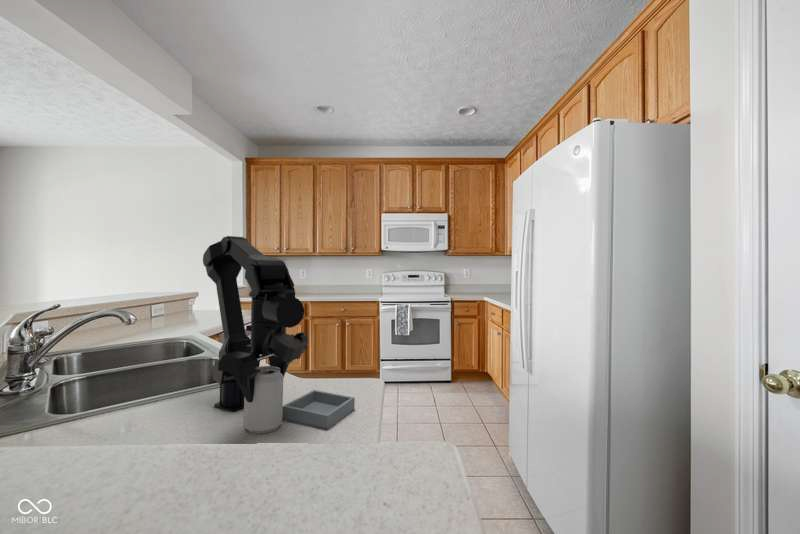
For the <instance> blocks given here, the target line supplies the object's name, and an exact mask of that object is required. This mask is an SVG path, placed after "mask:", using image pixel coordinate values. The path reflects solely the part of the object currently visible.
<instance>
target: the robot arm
mask: <svg viewBox="0 0 800 534" xmlns="http://www.w3.org/2000/svg"><path fill="white" fill-rule="evenodd" d="M202 263H203V266H204V267H205V270H206V274H207V276H208V278H209V279H210V280H211V281H212V282H214V284H215V286H216V293H217V299H218V306H219V311H220V312H219V313H220V319H221V326H222V333H223V340H224V341H223V342H222V345H221V347H220V349H219V351H218V359H217V361H216V362H215V365H214V367H213V369H212V379H213V381H214V382H216V384H219V402H216V403H214V404H213V407H214V408H218V409H222V410H227V411H230V412H236V411H238V410H240V409H244V396H245V398H246V400H247V402H250V403H251V402H253V396H254V385H255V376H256V375H257V374H258V373H259V372H260V370H259V369H255V368H256V367H260V363H261V361H262V360H265V359H268V360H269V366H275V367H278V368H280V373H281V374H282V375H283V379H284V378H285V375H286V373H287V370H288V367H289V365H290V364H291V363H292V362H293V361H295V360H299V359H300V358H301V357H302V355H303V354H304V352H305V351H306V350H308V347H309V346H308V334H307V333H306V332H303V331H301V332H298V333H296V334H295V335H294V334H288V333H287V330H286V329H287V328H294V327H297V325H299V324H300V323H301V321H302V320H303V318H304V317H305V316H304V315H305V307H304V304H303V302H302V300H300V299H299V298H297V297H296V290H295V282H294V281H293V279H292V277H291V275H290V271H289V269H288V266H287V265H286V263H285V262H284V260H282V259H279V258H277V257H274V256H273V257H272V256H268V255H265V254H263V253H262V252H260V250H258V249H257V248H256V247H254V246H253V245H252V244H251V243H250V242H249V241H248V239H247V238H245V237H243V236H234V235H233V236H232V235H227V236H223V237H222V239H221V240H220V241H217V242H215V243H212V244H211V245H208V247H207V248H206V249H205V251H204V253H203V256H202ZM242 268H243V269H244V270H245V273H244V279H245V280H246V281H247V283H248V285H249V288H250V289H251V291H249V293H248V296H249V297H250V298H251V305H250V306H251V310H250V311H251V313H250V324H247V325H246V327H245V321H244V316H243V310H242V304H241V298H240V292H239V286H238V279H237V278H238V277H239V274H240V273H241V270H242ZM248 331H249V332H250V337H249V336H248V335H247V333H246V332H248Z"/></svg>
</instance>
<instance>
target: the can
mask: <svg viewBox="0 0 800 534" xmlns="http://www.w3.org/2000/svg"><path fill="white" fill-rule="evenodd" d="M255 369H259V370H260V372H259V373H258V374H257V375H256V376H255V385H254V396H253V402H251V403H250V402H247V400H246V398H245V396H244V407H243V427H244V428H245V429H246V430H247V431H248V432H250V433H252V434H260V435H261V434H266V433H270V432H273V431H275V430H277V428H278V427H279V426H280V425H281V424H282V423H283V420H282V411H283V406H284V398H283V397H284V378H283V375H282V374H281V373H280V368H278V367H275V366H270V365H261V366H259V367H256V368H255Z"/></svg>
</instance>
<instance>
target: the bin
mask: <svg viewBox="0 0 800 534" xmlns="http://www.w3.org/2000/svg"><path fill="white" fill-rule="evenodd" d="M355 398H356V397H354V396H348V395H344V394H338V393H332V392H327V391H322V390H318V389H317V390H316V389H313V390H311V391H309V392H307V393H305V394H303V395H301V396H299V397H297V398H295V399H293V400H292V401H290V402H288V403H287V404H283V409H282V421H285V422H290V423H294V424H297V425H302V426H307V427H310V428H311V427H312V428H315V429H319V430H324V431H328V430H330V429H331V428H332V427H334V426H335V425H337V424H338V423H339V422H341V421H343V419H345V418H346V417H347V416H348V415H350V414H351V413H353V412H355V404H356V403H355V401H356V400H355Z"/></svg>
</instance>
